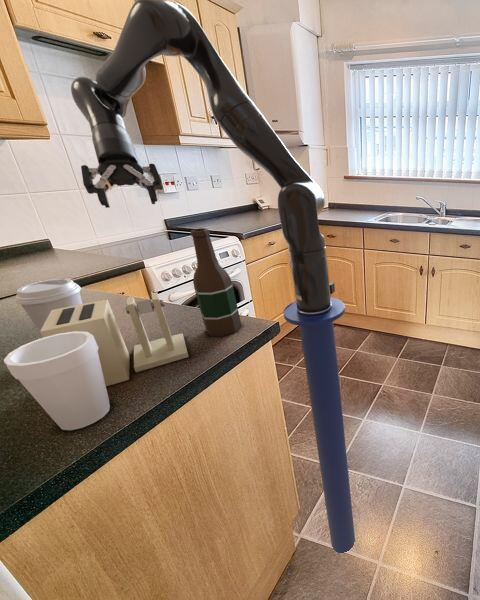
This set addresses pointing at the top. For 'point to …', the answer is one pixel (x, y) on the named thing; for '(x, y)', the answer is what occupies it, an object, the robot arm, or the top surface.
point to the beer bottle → (213, 288)
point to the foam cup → (63, 377)
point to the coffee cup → (47, 298)
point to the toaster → (104, 330)
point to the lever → (145, 306)
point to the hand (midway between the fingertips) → (130, 203)
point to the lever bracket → (158, 349)
